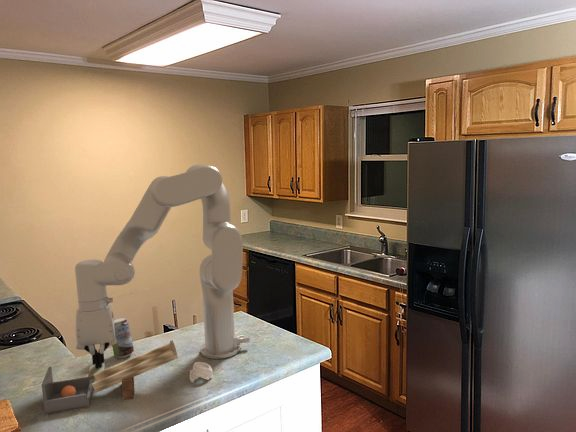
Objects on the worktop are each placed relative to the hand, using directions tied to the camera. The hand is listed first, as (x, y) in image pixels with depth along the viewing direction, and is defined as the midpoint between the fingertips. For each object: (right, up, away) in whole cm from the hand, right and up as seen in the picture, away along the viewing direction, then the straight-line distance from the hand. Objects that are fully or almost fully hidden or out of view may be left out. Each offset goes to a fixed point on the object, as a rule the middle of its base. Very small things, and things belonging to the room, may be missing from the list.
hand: (98, 365), depth 132 cm
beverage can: (+1, -2, +15) cm, 15 cm away
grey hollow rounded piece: (+29, -4, 0) cm, 30 cm away
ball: (-3, -3, -12) cm, 13 cm away
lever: (+11, 0, -2) cm, 11 cm away
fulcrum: (+11, -5, -7) cm, 14 cm away
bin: (-3, -5, -11) cm, 13 cm away
